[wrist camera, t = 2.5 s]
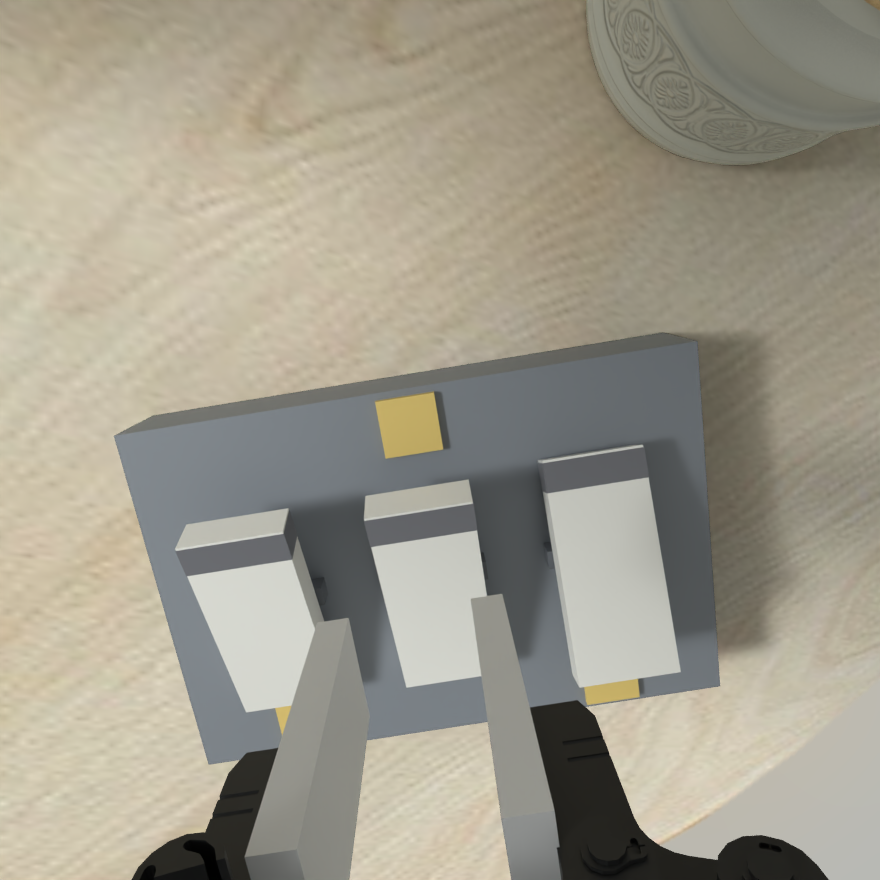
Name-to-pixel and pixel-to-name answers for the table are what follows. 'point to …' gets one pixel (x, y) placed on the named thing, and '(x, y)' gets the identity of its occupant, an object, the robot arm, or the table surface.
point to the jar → (739, 72)
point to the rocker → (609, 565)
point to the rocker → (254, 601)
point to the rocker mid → (429, 577)
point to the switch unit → (424, 464)
